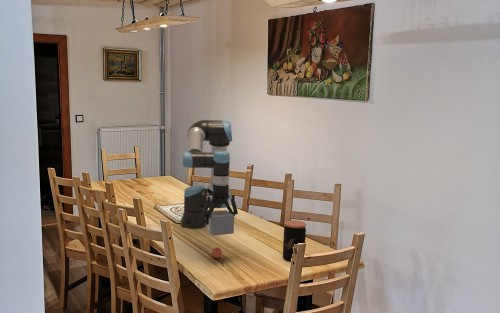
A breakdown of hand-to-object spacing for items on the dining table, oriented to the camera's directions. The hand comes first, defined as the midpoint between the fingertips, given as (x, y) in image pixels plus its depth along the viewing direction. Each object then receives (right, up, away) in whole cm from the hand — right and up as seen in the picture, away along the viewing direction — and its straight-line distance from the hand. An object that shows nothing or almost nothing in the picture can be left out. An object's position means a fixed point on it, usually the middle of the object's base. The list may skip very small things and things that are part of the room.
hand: (219, 229), depth 226 cm
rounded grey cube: (0, -1, 0) cm, 1 cm away
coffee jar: (+36, -15, +7) cm, 40 cm away
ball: (-2, -12, +4) cm, 13 cm away
